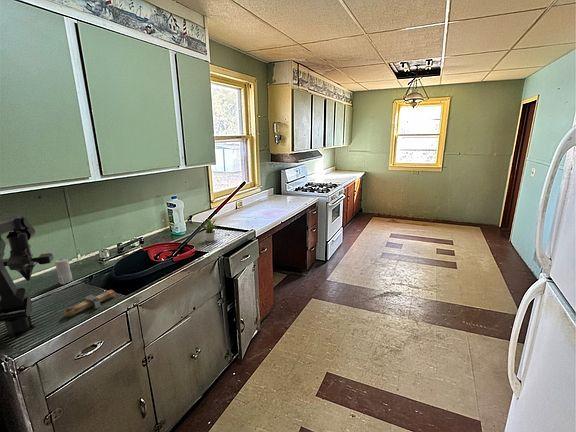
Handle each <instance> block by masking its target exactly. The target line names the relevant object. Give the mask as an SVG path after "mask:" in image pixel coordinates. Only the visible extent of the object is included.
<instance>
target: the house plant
mask: <svg viewBox="0 0 576 432" xmlns="http://www.w3.org/2000/svg"><path fill="white" fill-rule="evenodd" d="M208 218H209V217H207V220H206V219H204V220H202V219H200V221H201V222H203V223H205V222H206V223H205V225H203V227H201V225H202V224H199V226H200V227H201V229H204V230H205V231H204V237H205V239H206V241H207V242H213V241H215V237H216V236H215V235H216V231H215V230H214V229H215V228H217V225H215V224H216V221H217V219H218V217H216V218H214V219H213V220H212V219H210V218H209V219H208ZM217 229H218V228H217Z"/></svg>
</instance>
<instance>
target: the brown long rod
mask: <svg viewBox="0 0 576 432" xmlns="http://www.w3.org/2000/svg"><path fill="white" fill-rule="evenodd" d="M115 296H116V291H115V290H113V289H109V290H106V291H104V292H102V293H100V294H98V295H96V296H95V297H97V298H99V299H100V303H102V302H104V301H106V300H109V299H111V298H113V297H115ZM91 307H93V303H92V302H91V301H90V300H88V299H86V300H84V301H82V302H81V303H78V304H77V303H76V304H75V305H73V306H68V307H66V308H65V309H64V310H63V311H62V314H63V317H64V318H70V317H73V316H74V315H76V314H78V313H81V312H82V311H85V310H87V309H88V308H91Z"/></svg>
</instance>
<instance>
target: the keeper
mask: <svg viewBox="0 0 576 432" xmlns="http://www.w3.org/2000/svg"><path fill="white" fill-rule="evenodd" d="M85 299H86V300H90V301H91V302H92V303H93V306H92V307H93V309H94V310H97V309H100V308H101V302H100V299H99V298H97V297H96V296H95V295H93V294H90V295H87V296H85ZM99 307H100V308H99Z"/></svg>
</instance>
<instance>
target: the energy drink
mask: <svg viewBox="0 0 576 432" xmlns="http://www.w3.org/2000/svg"><path fill="white" fill-rule="evenodd" d="M54 262H55V263H54V265H55V270H56V273H57V274H56V275H57V278H58V282H59V284H60V285H67V284H66V283H68V284H70V283H71V281H72V282H73V275H72V271H71V267H70V266H71V265H70V261H69V259H68V258H66V257H65V258H58V259H56V260H55V261H54ZM69 282H70V283H69Z"/></svg>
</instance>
